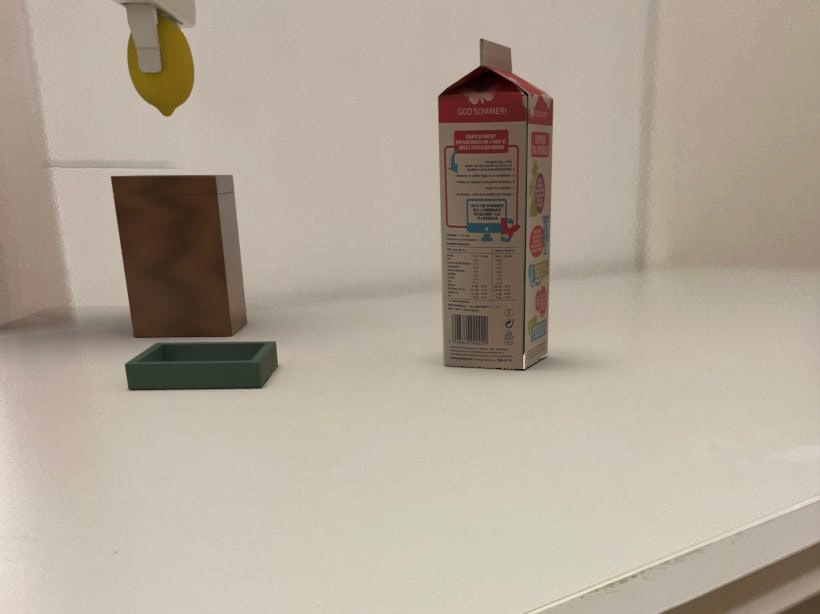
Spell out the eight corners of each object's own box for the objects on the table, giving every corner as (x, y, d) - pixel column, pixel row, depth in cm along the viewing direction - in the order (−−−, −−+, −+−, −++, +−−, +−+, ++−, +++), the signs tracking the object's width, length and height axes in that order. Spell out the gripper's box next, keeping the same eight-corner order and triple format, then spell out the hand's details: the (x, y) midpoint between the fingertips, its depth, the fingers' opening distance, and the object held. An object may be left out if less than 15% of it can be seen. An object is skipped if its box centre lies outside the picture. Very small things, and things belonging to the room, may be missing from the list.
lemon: (129, 117, 90) (115, 13, 87) (191, 118, 93) (180, 17, 89) (141, 114, 86) (126, 5, 83) (206, 116, 88) (194, 9, 85)
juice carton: (443, 365, 79) (436, 40, 70) (471, 351, 85) (468, 49, 75) (524, 370, 77) (528, 36, 68) (547, 355, 83) (554, 46, 73)
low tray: (128, 389, 71) (124, 363, 70) (159, 366, 79) (155, 342, 78) (261, 387, 71) (258, 361, 70) (278, 364, 80) (276, 341, 79)
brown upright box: (133, 337, 93) (110, 176, 87) (156, 323, 101) (136, 175, 95) (232, 336, 93) (215, 175, 88) (247, 322, 101) (232, 174, 96)
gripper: (132, -89, 91) (153, 85, 97) (58, -154, 73) (90, 66, 79) (202, -88, 92) (219, 85, 98) (147, -152, 73) (172, 66, 79)
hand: (161, 76), depth 88 cm, fingers closed on lemon, 5 cm apart
